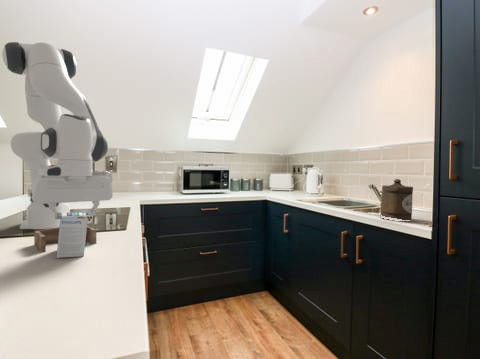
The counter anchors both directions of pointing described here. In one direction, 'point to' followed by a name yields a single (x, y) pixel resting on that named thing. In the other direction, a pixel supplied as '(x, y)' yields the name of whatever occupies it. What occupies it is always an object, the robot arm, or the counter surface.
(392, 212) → the wooden container
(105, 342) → the counter surface
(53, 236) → the shelf bay
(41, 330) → the counter surface
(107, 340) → the counter surface
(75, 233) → the light bulb box
